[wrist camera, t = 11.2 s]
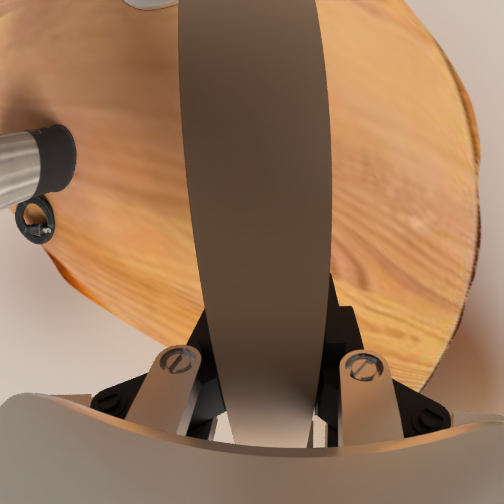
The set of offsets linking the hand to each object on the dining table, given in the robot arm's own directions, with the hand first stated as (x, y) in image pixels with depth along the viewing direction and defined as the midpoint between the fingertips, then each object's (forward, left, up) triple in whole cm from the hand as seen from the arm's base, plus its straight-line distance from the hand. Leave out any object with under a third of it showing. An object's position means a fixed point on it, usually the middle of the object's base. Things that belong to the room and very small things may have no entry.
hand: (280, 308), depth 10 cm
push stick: (0, 0, -1) cm, 1 cm away
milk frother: (-6, -31, -17) cm, 36 cm away
